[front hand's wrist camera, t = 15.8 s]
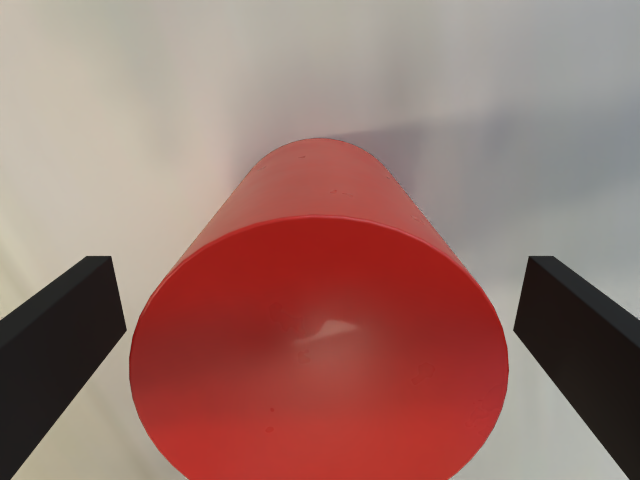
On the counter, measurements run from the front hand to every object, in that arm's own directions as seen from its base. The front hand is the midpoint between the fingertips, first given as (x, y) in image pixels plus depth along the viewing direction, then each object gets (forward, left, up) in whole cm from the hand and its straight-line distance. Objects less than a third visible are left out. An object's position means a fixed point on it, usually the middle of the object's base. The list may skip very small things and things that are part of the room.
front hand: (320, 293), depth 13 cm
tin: (0, 0, -7) cm, 7 cm away
